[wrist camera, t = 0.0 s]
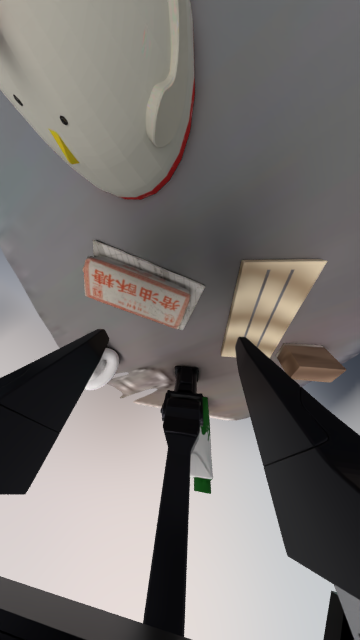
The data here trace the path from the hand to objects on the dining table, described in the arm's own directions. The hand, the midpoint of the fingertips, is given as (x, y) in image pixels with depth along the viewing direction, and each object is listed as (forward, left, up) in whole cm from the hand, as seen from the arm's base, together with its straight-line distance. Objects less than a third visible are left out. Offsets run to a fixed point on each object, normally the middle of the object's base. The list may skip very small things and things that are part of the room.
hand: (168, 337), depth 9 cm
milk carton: (-45, -3, -15) cm, 48 cm away
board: (-8, -13, -15) cm, 21 cm away
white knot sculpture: (-21, +23, -15) cm, 35 cm away
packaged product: (-3, +7, -15) cm, 17 cm away
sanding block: (-16, -24, -15) cm, 32 cm away
